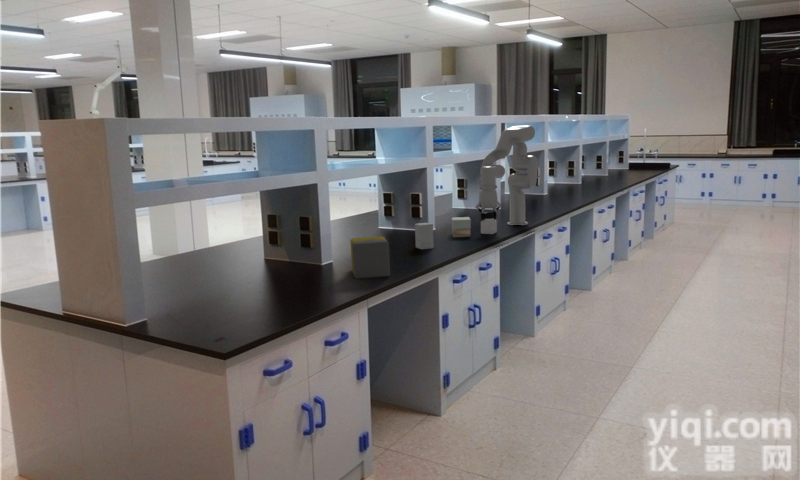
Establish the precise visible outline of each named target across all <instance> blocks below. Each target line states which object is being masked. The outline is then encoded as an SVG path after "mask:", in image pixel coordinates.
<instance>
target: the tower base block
mask: <svg viewBox="0 0 800 480" xmlns="http://www.w3.org/2000/svg"><path fill="white" fill-rule="evenodd" d="M451 236H452V238H465V237H467V238H469V237H471V228H466V229H453V228H452V227H451Z"/></svg>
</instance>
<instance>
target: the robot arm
mask: <svg viewBox="0 0 800 480" xmlns="http://www.w3.org/2000/svg"><path fill="white" fill-rule="evenodd" d="M535 134H536V129H535V128H534V126H533V125H513V126H509V127H508V128H505V129H504V130H502V131H501V135H500V136H499V140H498V142H497V145H496V146H495V149H493V150H491V152H489V153H488V154H487V155H486V156H485V158H484V159H483V161H482V163H481V166H480V171H479V173H480V178H481V180H480V183H481V186H480V187H481V190H480V191H479V195H478V202H477V204H476V205H475V206H474V207H475V209H476V210H477V211H478V212H479V213H480V218H481V221H484V220H485V216H484V213H485V209H492V210H493V211H492V213H494V220H496V219H497V213H498V211H499V210H500V208H502V206H503V205H502V204H501V202H499V200H498V193H497V190H496V188H498V185H496V184H495V183H496V181H495V179H501V178H503V177H504V175H505V173H506V169H505V167H504V166H503V165H501V164H494V163H495V162H497V161H499V160H502V159H504V158H506V157H508V156H509V155H510V154H511V153H510V152H511V150H512V157H511V158H512V159H511V169H512V170H513V171H516V172H515V173H511V174H510V175H508V177H507V185H508V193H509V221H508V222H506V223H507V225H508V226H513V225H521V226H526V225H528V224H529V222H528V221H526V195H525V192H524V190H533V189H535V187H536V186H537V182H538V181H537V180H538V179H537V178H538V170H539V161H538V158H537V156H536V155H535V156H534V155H530V154H529V155H528V147H527V143H525V142H529V141H532V140H533V139H534V138H535ZM519 172H520V173H519ZM521 172H523V173H521ZM525 172H527V173H525Z"/></svg>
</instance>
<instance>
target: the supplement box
mask: <svg viewBox="0 0 800 480" xmlns="http://www.w3.org/2000/svg"><path fill="white" fill-rule="evenodd" d="M414 233H415V234H414V236H415V238H414V240H415V248H416V249H418V250H419V249H420V250H428V249H429V250H430V249H434V248H435V247H434V246H435V245H434V241H435V240H434V224H433V223H429V222H420V223H415V224H414Z"/></svg>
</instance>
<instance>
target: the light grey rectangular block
mask: <svg viewBox="0 0 800 480" xmlns="http://www.w3.org/2000/svg"><path fill="white" fill-rule="evenodd" d="M484 216H485V220H481V221H480V234H482V235H494V234H496V233H497V232H498V220H496V219H494V213H493V211H487V212H485V211H484Z"/></svg>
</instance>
